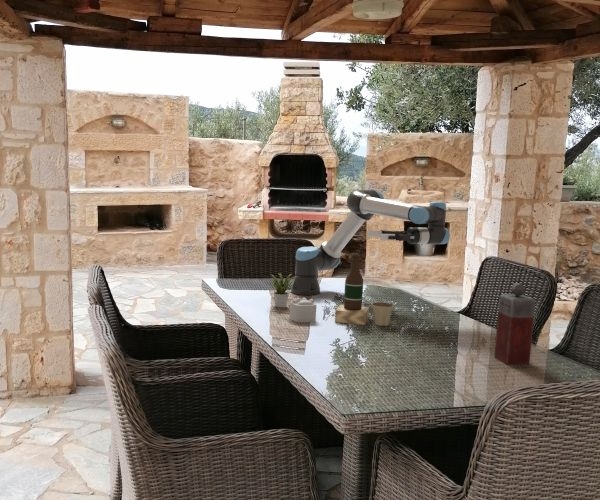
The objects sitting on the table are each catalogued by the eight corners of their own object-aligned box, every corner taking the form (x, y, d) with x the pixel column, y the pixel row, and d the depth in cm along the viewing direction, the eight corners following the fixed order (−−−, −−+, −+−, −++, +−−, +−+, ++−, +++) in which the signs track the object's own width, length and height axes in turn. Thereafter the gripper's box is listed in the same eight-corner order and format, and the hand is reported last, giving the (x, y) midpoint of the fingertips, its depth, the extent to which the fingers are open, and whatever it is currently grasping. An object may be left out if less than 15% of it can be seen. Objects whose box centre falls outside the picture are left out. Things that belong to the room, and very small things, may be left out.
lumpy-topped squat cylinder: (294, 322, 279) (295, 302, 278) (286, 315, 291) (287, 296, 290) (318, 322, 282) (319, 302, 281) (308, 315, 294) (309, 295, 293)
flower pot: (391, 328, 277) (393, 307, 276) (369, 325, 279) (370, 305, 278) (393, 323, 287) (394, 303, 285) (371, 320, 288) (372, 301, 287)
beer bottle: (362, 311, 284) (365, 255, 281) (344, 310, 284) (347, 254, 281) (361, 307, 292) (364, 252, 288) (343, 306, 292) (346, 252, 289)
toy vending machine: (512, 355, 245) (519, 280, 241) (529, 364, 234) (537, 285, 230) (490, 355, 243) (497, 279, 239) (506, 364, 232) (513, 285, 228)
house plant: (300, 304, 316) (301, 270, 314) (297, 310, 302) (298, 274, 300) (270, 302, 317) (271, 268, 315) (266, 308, 303) (267, 272, 301)
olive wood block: (334, 321, 283) (335, 310, 283) (339, 315, 296) (339, 304, 295) (365, 324, 281) (366, 313, 280) (368, 318, 293) (369, 307, 293)
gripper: (430, 247, 292) (386, 247, 285) (403, 240, 315) (362, 240, 309) (431, 230, 291) (387, 229, 284) (404, 224, 314) (363, 224, 308)
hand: (374, 235), depth 296 cm, fingers open, 13 cm apart
